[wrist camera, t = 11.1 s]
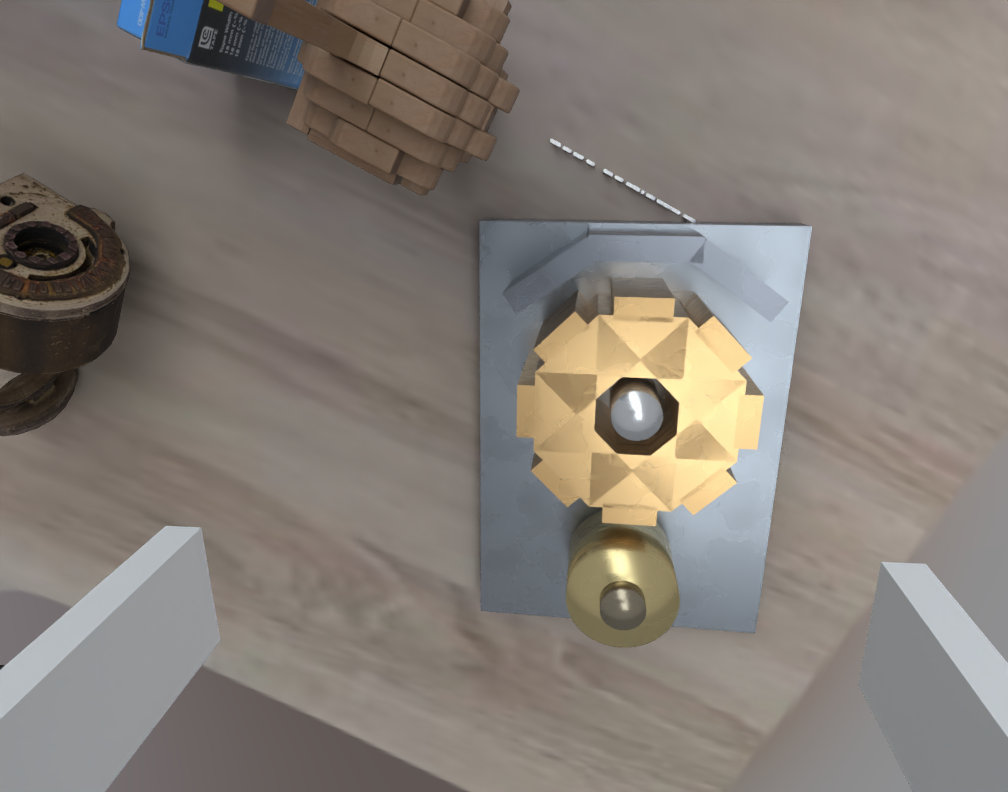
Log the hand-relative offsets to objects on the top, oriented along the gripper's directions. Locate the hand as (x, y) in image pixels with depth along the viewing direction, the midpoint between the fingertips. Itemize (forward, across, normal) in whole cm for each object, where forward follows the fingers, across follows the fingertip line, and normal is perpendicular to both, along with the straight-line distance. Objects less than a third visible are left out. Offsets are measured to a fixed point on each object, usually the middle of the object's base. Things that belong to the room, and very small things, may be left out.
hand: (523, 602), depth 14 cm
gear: (+19, +3, -2) cm, 20 cm away
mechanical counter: (+21, -23, +1) cm, 31 cm away
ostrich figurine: (+22, 0, +8) cm, 23 cm away
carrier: (+21, +3, -4) cm, 22 cm away
